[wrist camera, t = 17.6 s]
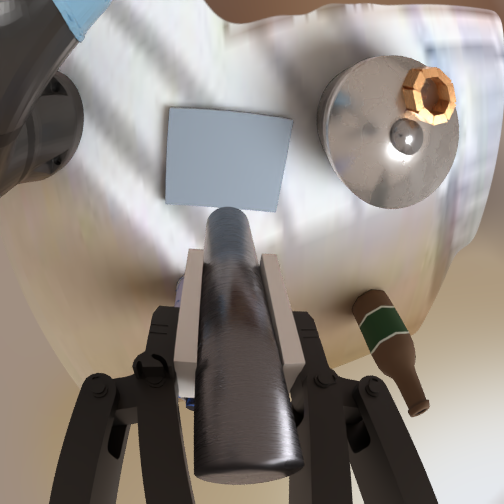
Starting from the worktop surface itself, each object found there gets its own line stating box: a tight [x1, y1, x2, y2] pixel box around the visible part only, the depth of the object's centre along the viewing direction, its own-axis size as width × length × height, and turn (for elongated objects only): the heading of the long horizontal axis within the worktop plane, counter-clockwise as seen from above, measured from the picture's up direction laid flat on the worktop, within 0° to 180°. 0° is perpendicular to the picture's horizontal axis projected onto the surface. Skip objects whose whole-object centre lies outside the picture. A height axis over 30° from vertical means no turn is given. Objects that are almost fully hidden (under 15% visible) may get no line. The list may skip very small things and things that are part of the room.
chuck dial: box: [323, 56, 459, 209], centre depth 25 cm, size 18×18×4 cm
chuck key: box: [194, 207, 305, 485], centre depth 13 cm, size 3×3×16 cm
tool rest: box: [166, 107, 294, 212], centre depth 32 cm, size 14×12×1 cm
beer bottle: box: [352, 290, 430, 417], centre depth 40 cm, size 8×8×24 cm
